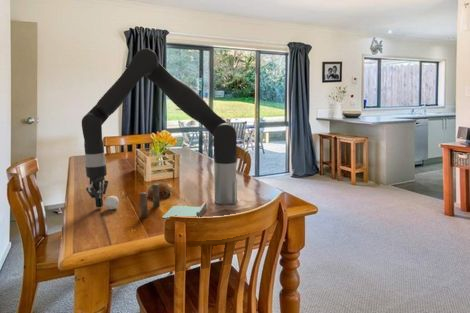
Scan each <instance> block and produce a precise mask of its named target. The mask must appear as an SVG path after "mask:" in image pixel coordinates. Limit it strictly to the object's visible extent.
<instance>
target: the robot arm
mask: <svg viewBox="0 0 470 313" xmlns="http://www.w3.org/2000/svg"><path fill="white" fill-rule="evenodd" d="M144 77H145V78H146V79H148V80H149V82H150V81H151V83H153V84H154V85H155V86H157V87H158V88H159V89H160V90H161V91H162V92H163V93H164V94H165V96H166V97H167V98H168V99H169V100H170V101H171V102H172V103H173V104H174V105H175V106H176V107H177V108H179V109H180V111H182V112H183V113H185V114H186V115H187V116H188V117H190V118H192V119H193V120H194V121H196V122H197V123H199V124H200V125H202V126H203V127H204V128H205V129H206V130H207V131H208V132H209V133H210V134H211V136H213V164H214V166H213V169H214V170H213V172H214V173H213V174H214V175H213V176H214V177H213V178H214V183H213V184H214V186H213V187H214V203H216V204H217V205H225V206H226V205H227V206H228V205H235V204H237V201H238V178H237V154H238V152H237V148H238V147H237V143H238V142H237V139H238V138H237V131H236V129H235V127H234V126H233V125H232V124H231V123H229V122H228V121H226V120H224V118H222V117H221V116H220V115H218V114H217V113H216V112H215V111H214V110H213V109H212V108H211V107H210V106H209V104H208V103H207V102H206V101H205V100H204V99H203V97H201V96H200V95H199V94H198V93H197V92H196V91H195V90H194V89H192V87H190V86H189V85H188V84H187V83H185V82H183V81H182V80H180V79H179V78H177V77H175V76H174V75H173V74H171V73H170V72H169V71H168V70H167V69H166V68H165V67H164V66H163V65H162V64H161V63H160V61H159V58H158V56H157V54H156V52H155V51H154V50H152V49H150V48H141V49H139V50H137V52H136V53H135V55H134V56H133V58H132V60H130V62H129V64H128V66H127V67H126V68H125V69H124V71H123V73H122V74H121V75H120V77H119V78H117V80H116V81H115V82H114V83H113V84H112V85H111V86H110V87H109V89H107V91H106V92H105V93H104V94H103V95H102V96H101V97H100V99H99V100H98V101H97V103H96V104H95V105H94V106H93V107H92V108H91V109H90V110H89V111H88V112H87V113H86V114H85V115H84V116H83V117H82V119H81V130H82V134H83V140H84V143H83V146H84V147H83V148H84V164H85V175H86V177H87V178H88V179H89V186H88V187H86V189H85V190H86V193H88V194H89V196H90V198H92V199H94V200H95V207H96V208H102V207H103V206H104V203H103V198H104V195H105V194H106V192H107V189H108V184H109V180H106V179H105V177H106V176H107V174H108V173H107V161H106V154H105V145H104V140H103V130H102V129H103V128H102V126H103V124H104V123H105V122H106V121H107V119H108V118H109V117H110V116H111V115H113V114H114V113H115V112H116V111H117V110H118V108H119V107H120V106H121V105H122V104H123V103H124V102H125V101H126V99H127V98H128V96H129V95H130V93H131V92H132V90H133V89H134V87H135V86H136V84H138V83H139V82H140V80H142V79H143V78H144Z"/></svg>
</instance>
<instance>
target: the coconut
mask: <svg viewBox="0 0 470 313" xmlns="http://www.w3.org/2000/svg"><path fill="white" fill-rule="evenodd" d="M154 184H159V200H160V199H161V200H162V199H167V198H169V197H170V196H171V195H172V191H171V188H170V186H169V185H167V184H166V183H165V182H160V181H158V182H156V183H154ZM152 185H153V184H151V185H150V186H149V188H148V190H147V197H149V198H150V199H153V190H152Z"/></svg>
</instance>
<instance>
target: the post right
mask: <svg viewBox="0 0 470 313" xmlns="http://www.w3.org/2000/svg"><path fill="white" fill-rule="evenodd" d="M151 185H152V190H153V198H152V206H153V207H154V208H159V207H160V205H161V203H160V199H159V184H155V183H153V184H151Z"/></svg>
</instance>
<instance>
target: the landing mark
mask: <svg viewBox="0 0 470 313" xmlns="http://www.w3.org/2000/svg"><path fill="white" fill-rule="evenodd" d="M200 207H201V206H188V205H187V206H186V205H185V206H184V205H173V206H171V208H169V210H168V211H167V212H165V214H163V215H162V216H161V219H168V218H167V217H170V216H175V215H177V216H196V212H197V211H198V210H199V208H200ZM207 209H208V207H207V206H206V209H205V211H206V210H207Z"/></svg>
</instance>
